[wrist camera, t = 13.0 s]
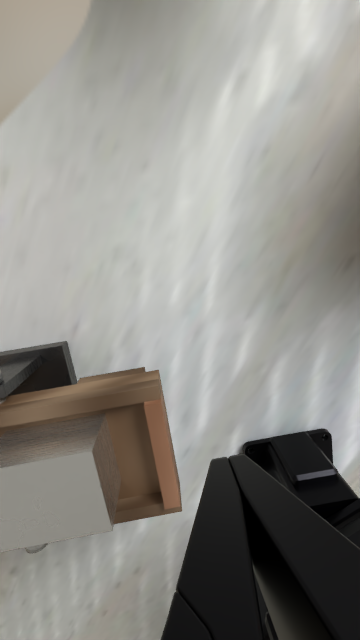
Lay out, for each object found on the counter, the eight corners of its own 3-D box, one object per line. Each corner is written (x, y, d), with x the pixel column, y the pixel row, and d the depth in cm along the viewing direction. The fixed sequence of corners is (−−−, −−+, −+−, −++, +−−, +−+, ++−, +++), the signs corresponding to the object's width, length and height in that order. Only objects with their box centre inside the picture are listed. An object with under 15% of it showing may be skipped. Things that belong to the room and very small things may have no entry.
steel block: (104, 413, 15) (91, 451, 12) (121, 480, 16) (112, 530, 13) (5, 431, 15) (-32, 474, 12) (27, 497, 16) (-3, 552, 13)
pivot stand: (66, 338, 20) (28, 370, 14) (99, 471, 22) (78, 544, 16) (-10, 350, 20) (-78, 388, 14) (32, 483, 22) (-12, 561, 16)
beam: (157, 349, 18) (156, 381, 14) (178, 461, 20) (183, 524, 15) (-124, 397, 18) (-227, 448, 13) (-78, 507, 19) (-153, 588, 15)
